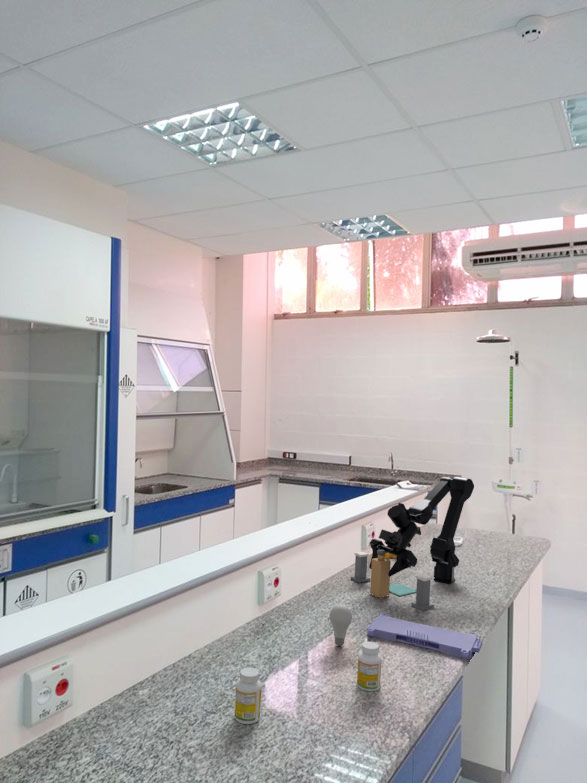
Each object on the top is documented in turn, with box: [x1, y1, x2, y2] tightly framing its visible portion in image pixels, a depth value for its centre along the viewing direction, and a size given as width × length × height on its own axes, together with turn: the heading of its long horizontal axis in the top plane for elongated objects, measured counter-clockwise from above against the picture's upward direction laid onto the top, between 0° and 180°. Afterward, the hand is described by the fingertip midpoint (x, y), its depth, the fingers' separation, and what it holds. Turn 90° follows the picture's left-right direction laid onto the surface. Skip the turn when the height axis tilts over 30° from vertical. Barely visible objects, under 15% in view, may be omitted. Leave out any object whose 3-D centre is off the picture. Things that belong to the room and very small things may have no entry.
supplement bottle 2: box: [356, 641, 382, 692], centre depth 140 cm, size 5×5×10 cm
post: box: [410, 573, 435, 611], centre depth 194 cm, size 5×5×10 cm
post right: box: [350, 551, 371, 584], centre depth 218 cm, size 5×5×10 cm
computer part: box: [366, 613, 483, 660], centre depth 168 cm, size 30×4×15 cm
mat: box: [389, 583, 417, 597], centre depth 209 cm, size 9×9×1 cm
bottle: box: [369, 550, 392, 598], centre depth 203 cm, size 4×4×15 cm
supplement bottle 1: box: [234, 667, 263, 725], centre depth 124 cm, size 5×5×10 cm
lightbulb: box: [328, 604, 353, 647], centre depth 161 cm, size 6×6×11 cm
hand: (379, 571), depth 203 cm, fingers open, 9 cm apart
